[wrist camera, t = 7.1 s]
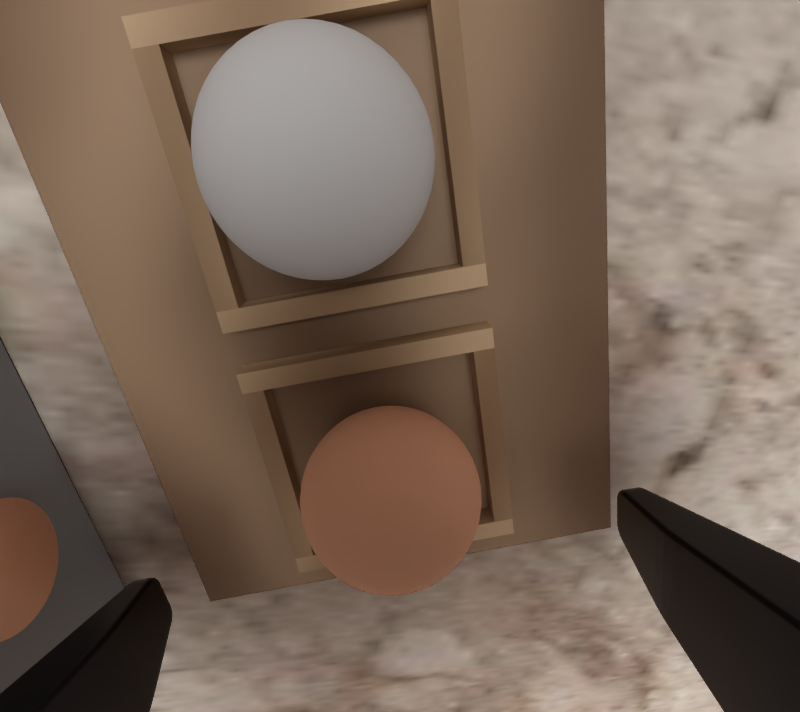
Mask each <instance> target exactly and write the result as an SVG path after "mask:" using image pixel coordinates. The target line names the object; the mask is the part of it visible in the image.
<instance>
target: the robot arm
mask: <svg viewBox="0 0 800 712" xmlns="http://www.w3.org/2000/svg"><path fill="white" fill-rule="evenodd" d="M617 524H618V530H619V534H620V536H621V538H622V540H623V542H624V544H625V546H626V548H627V550H628V552H629V554H630V556H631V558H632V560H633V562H634V564H635V566H636V567H637V569H638V571H639V573H640V575H641V577H642V579H643V581H644V583H645V585H646V587H647V589H648V591H649V593H650V594H651V596H652V598H653V600H654V602H655V604H656V606H657V608H658V609H659V611H660V613H661V615H662V616H663V618H664V620H665V621H666V623H667V624H668V626H669V628H670V629H671V631H672V632H673V634H674V635H675V637H676V638H677V640H678V642H679V643H680V645H681V646H682V648H683V649H684V651H685V652H686V654H687V655H688V657H689V658H690V660H691V661H692V663H693V665H694V666H695V668H696V669H697V671H698V672H699V674H700V675H701V677H702V678H703V680H704V681H705V683H706V685H707V686H708V688H709V689H710V691H711V692H712V694H713V695H714V697H715V698H716V700H717V701H718V703H719V705H720V706H721V708H722V709H723V711H724V712H800V562H798V561H796V560H793V559H791V558H789V557H787V556H785V555H783V554H781V553H779V552H777V551H774V550H772V549H770V548H768V547H766V546H764V545H762V544H760V543H758V542H755V541H753V540H751V539H749V538H747V537H745V536H743V535H741V534H739V533H736V532H734V531H732V530H730V529H728V528H726V527H724V526H722V525H720V524H717V523H715V522H713V521H711V520H709V519H707V518H705V517H703V516H700V515H698V514H696V513H694V512H692V511H690V510H688V509H686V508H684V507H681V506H679V505H677V504H675V503H673V502H671V501H669V500H667V499H665V498H662V497H660V496H658V495H656V494H654V493H652V492H650V491H648V490H646V489H643V488H640V487H637V488H631V489H626V490H621V491H620V492H619V493H618V496H617ZM171 622H172V609H171V606H170V604H169V602H168V600H167V597H166V595H165V593H164V591H163V589H162V587H161V585H160V583H159V581H158V580H157V579H156V578H146V579H140V580H136V581H133V582H131V583H130V584H128V585H127V586H126V587H125V588H124V589H123V590H121V591H120V592H119V593H118V594H117V595H115V596H114V597H113V598H112V599H111V600H110V601H108V602H107V603H106V604H105V605H104V606H103V607H101V608H100V609H99V610H98V611H97V612H95V613H94V614H93V615H92V616H91V617H90V618H88V619H87V620H86V621H85V622H84V623H83V624H81V625H80V626H79V627H78V628H77V629H75V630H74V631H73V632H72V633H71V634H70V635H68V636H67V637H66V638H65V639H64V640H63V641H61V642H60V643H59V644H58V645H57V646H55V647H54V648H53V649H52V650H51V651H50V652H48V653H47V654H46V655H45V656H44V657H43V658H41V659H40V660H39V661H38V662H37V663H35V664H34V665H33V666H32V667H31V668H30V669H28V670H27V671H26V672H25V673H24V674H23V675H21V676H20V677H19V678H18V679H17V680H15V681H14V682H13V683H12V684H11V685H10V686H8V687H7V688H6V689H5V690H4V691H3V692H1V693H0V712H149V711H150V708H151V705H152V701H153V697H154V693H155V689H156V685H157V681H158V677H159V672H160V668H161V664H162V660H163V656H164V652H165V647H166V643H167V639H168V635H169V631H170V627H171Z"/></svg>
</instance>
